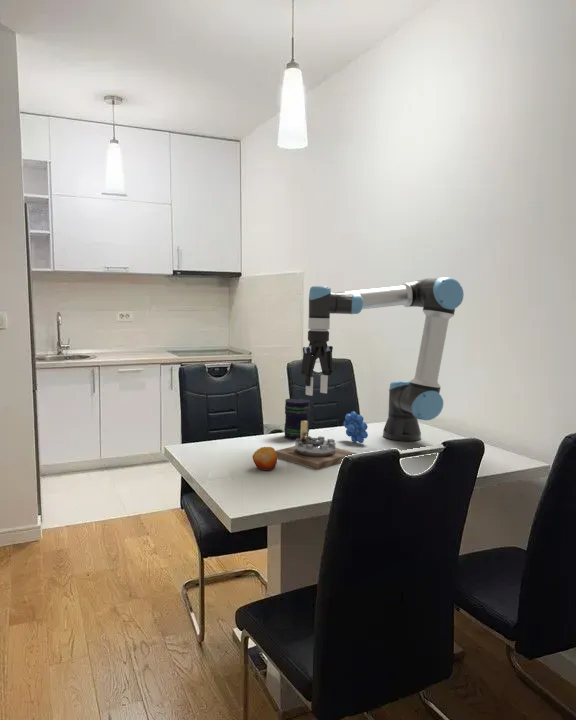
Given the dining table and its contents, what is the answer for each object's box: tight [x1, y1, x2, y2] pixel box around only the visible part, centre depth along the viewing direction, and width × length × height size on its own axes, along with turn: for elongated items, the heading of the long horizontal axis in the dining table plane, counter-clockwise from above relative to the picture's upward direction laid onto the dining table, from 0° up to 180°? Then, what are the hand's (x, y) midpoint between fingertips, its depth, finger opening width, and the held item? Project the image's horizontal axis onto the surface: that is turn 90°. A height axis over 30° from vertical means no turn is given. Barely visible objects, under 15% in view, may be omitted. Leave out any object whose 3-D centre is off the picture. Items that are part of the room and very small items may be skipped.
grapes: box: [343, 410, 369, 444], centre depth 219 cm, size 12×7×12 cm, turn 44°
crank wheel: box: [294, 421, 337, 457], centre depth 196 cm, size 14×14×10 cm
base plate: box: [275, 445, 356, 471], centre depth 197 cm, size 20×20×2 cm
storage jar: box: [283, 397, 311, 441], centre depth 224 cm, size 10×10×15 cm
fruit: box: [251, 446, 278, 471], centre depth 183 cm, size 8×8×8 cm
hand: (316, 393), depth 203 cm, fingers open, 7 cm apart
